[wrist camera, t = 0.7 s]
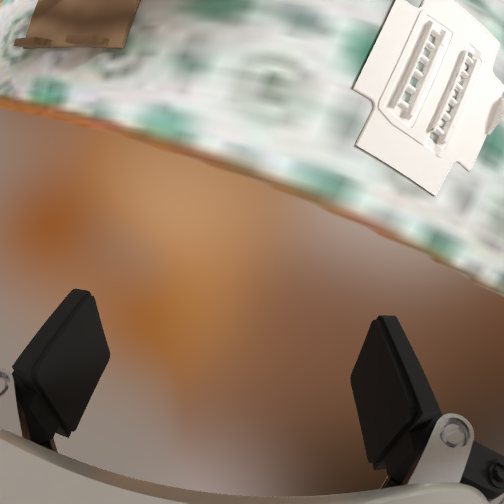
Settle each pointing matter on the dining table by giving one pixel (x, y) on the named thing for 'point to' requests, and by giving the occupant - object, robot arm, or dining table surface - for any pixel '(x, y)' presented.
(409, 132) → the tray
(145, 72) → the dining table surface
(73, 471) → the robot arm
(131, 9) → the rack
